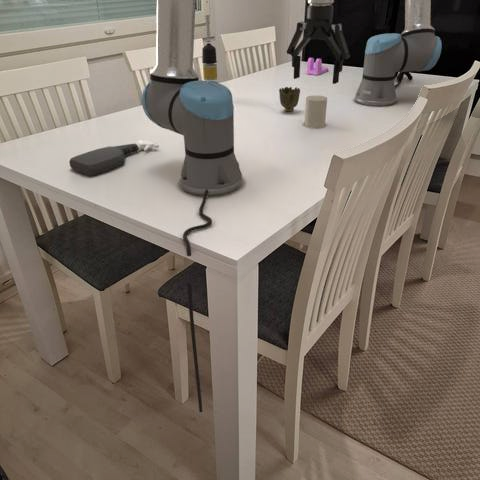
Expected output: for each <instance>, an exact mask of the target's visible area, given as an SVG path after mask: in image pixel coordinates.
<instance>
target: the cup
mask: <svg viewBox="0 0 480 480" xmlns="http://www.w3.org/2000/svg"><path fill="white" fill-rule="evenodd" d="M278 91H279V94H278V95H279V103H280V106H281V107H283V112H285V113H288V114H290V113H293V112H294V111H295V108H296V107H297V106H298V104H299V101H300V94H301V89H300V87H294V88H292V86H290V87H289V86H285V87H280V88H279V90H278Z"/></svg>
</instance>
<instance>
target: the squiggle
mask: <svg viewBox="0 0 480 480" xmlns="http://www.w3.org/2000/svg"><path fill="white" fill-rule="evenodd" d="M404 76H406V78H407V80H408V81H412V80H413V79H414V77H413V75H412V74H411V73H410V71H408V72H395V78H394V80H395V79H396V81H397V82H398V83H399V81H401V82H402V81H403V79H404Z"/></svg>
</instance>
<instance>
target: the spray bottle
mask: <svg viewBox="0 0 480 480" xmlns="http://www.w3.org/2000/svg"><path fill="white" fill-rule="evenodd" d="M159 148H160V145H159V144H158V143H155V142H151V141H148V140H144V139H139V140H138V141H137V142H135V143H129V144H128V143H126V144H122V145H113V146H105V147H100V148H97V149H94V150H90V151H87V152H83V153H81V154H78V155H74V156H73V157H70V159H69V161H68V162H69V167H70V168H71V169H72V170H74V171H75V172H78V173H81V174H83V175H85V176H89V177H90V176H91V177H92V176H95V175H99V174H102V173H105V172H107V171H110V170H113V169H116V168H118V167H120V166H122V165H123V164H124V163H125V158H126V156H127V155H131V154H133V153H138V151H140V150H143V151H144V152H146V151H147V150H149V149H159Z"/></svg>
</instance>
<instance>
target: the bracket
mask: <svg viewBox="0 0 480 480" xmlns="http://www.w3.org/2000/svg"><path fill="white" fill-rule="evenodd" d="M322 63H323V61H322V58H316V60H315V59H314V57H308V59H307V66H306V74H307V75H314V76H319V75H321V74H323V73H326V72H328V71H329V67H328V66H322Z"/></svg>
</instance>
